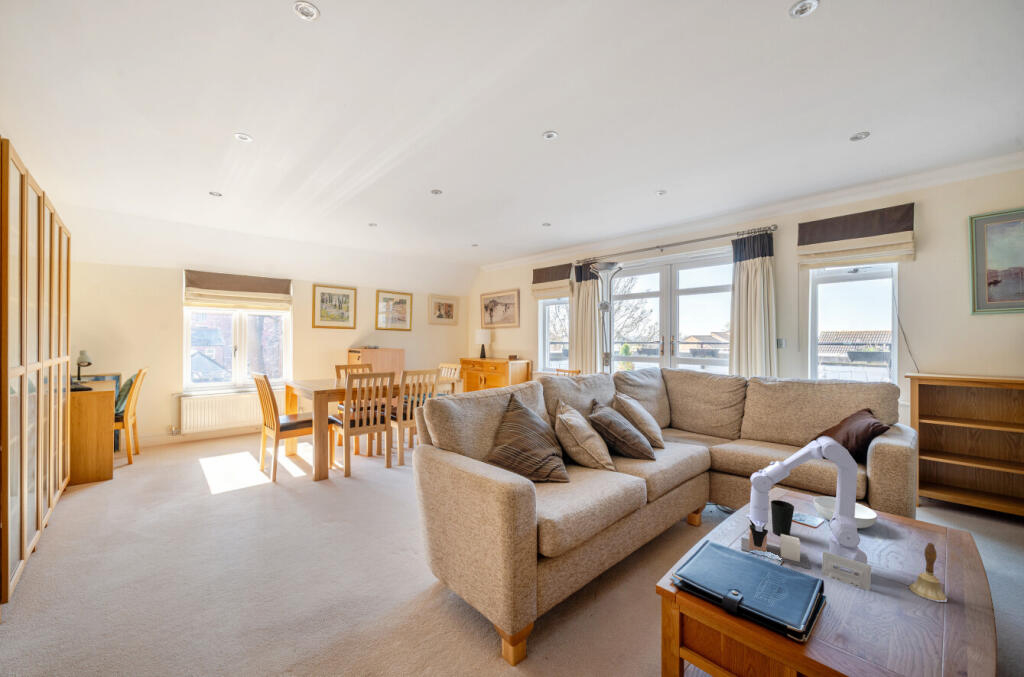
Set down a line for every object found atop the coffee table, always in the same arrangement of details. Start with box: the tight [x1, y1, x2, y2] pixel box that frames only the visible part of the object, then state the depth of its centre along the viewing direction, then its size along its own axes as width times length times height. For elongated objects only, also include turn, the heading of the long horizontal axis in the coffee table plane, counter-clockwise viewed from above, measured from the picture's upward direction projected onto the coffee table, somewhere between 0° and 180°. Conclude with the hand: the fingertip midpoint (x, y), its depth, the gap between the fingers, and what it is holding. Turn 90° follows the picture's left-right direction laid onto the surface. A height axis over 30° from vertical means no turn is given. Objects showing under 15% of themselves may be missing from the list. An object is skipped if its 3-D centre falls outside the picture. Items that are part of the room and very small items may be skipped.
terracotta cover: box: [748, 525, 768, 552], centre depth 146 cm, size 5×5×6 cm
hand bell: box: [908, 542, 947, 600], centre depth 122 cm, size 8×8×16 cm
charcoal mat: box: [740, 537, 810, 570], centre depth 143 cm, size 20×10×1 cm, turn 59°
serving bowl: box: [813, 495, 878, 529], centre depth 169 cm, size 21×21×7 cm
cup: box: [770, 499, 795, 538], centre depth 157 cm, size 8×8×12 cm
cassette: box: [821, 550, 872, 592], centre depth 127 cm, size 12×2×8 cm, turn 49°
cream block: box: [779, 534, 801, 562], centre depth 141 cm, size 5×5×6 cm
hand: (757, 542), depth 146 cm, fingers closed on terracotta cover, 5 cm apart
